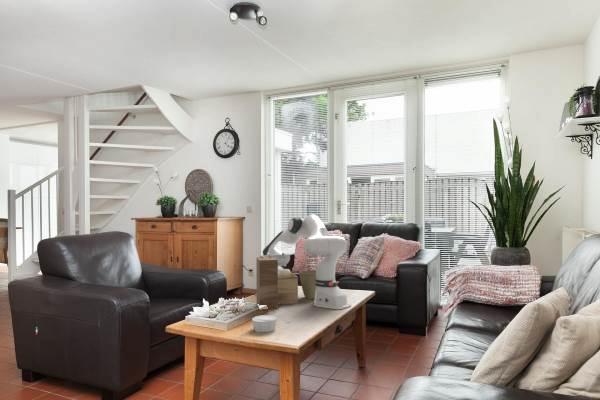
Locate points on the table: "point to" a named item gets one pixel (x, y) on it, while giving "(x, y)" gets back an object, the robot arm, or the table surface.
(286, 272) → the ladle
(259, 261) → the stand
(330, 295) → the robot arm
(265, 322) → the ramekin
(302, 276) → the plant pot
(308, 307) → the table surface
